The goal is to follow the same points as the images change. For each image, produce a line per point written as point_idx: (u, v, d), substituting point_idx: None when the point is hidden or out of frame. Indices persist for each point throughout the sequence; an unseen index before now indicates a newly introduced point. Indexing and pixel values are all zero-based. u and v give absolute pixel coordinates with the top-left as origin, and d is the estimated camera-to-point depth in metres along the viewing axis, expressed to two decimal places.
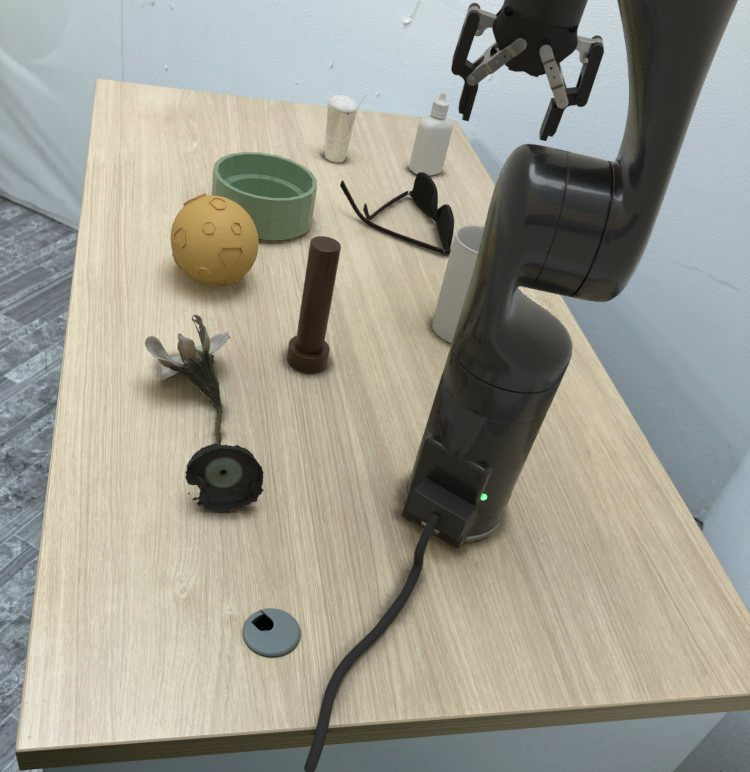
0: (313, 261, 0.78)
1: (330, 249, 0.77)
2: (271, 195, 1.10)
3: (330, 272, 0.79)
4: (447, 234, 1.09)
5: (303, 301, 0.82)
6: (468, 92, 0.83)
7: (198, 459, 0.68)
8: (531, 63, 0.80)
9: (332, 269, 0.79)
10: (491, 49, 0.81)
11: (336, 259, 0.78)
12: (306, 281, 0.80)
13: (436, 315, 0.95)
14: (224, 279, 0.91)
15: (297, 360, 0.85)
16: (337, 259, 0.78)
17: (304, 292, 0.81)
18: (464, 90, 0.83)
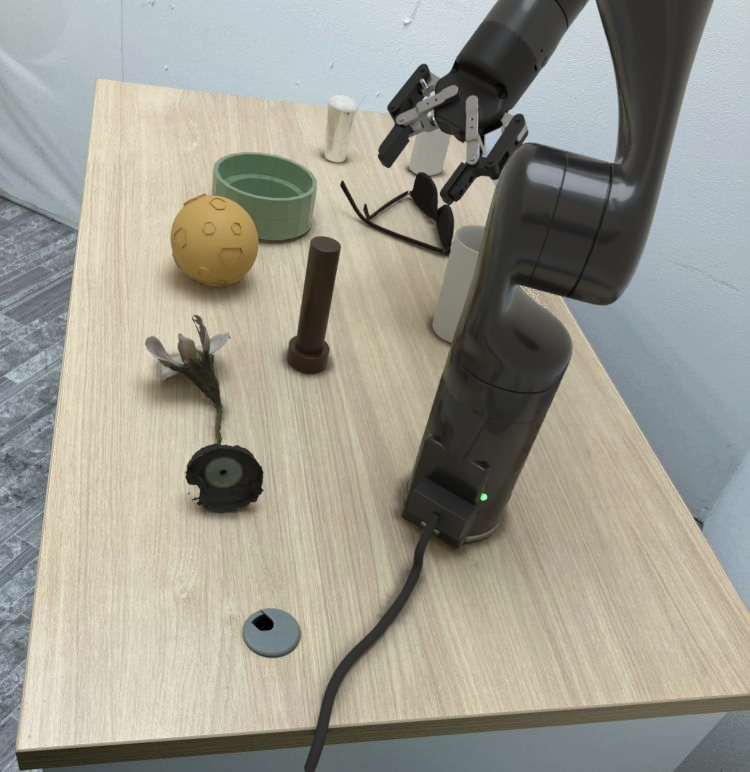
0: (313, 261, 0.78)
1: (330, 249, 0.77)
2: (271, 195, 1.10)
3: (330, 272, 0.79)
4: (447, 234, 1.09)
5: (303, 301, 0.82)
6: None
7: (198, 459, 0.68)
8: (457, 117, 0.81)
9: (332, 269, 0.79)
10: (430, 117, 0.84)
11: (336, 259, 0.78)
12: (306, 281, 0.80)
13: (436, 315, 0.95)
14: (224, 279, 0.91)
15: (297, 360, 0.85)
16: (337, 259, 0.78)
17: (304, 292, 0.81)
18: (391, 131, 0.83)
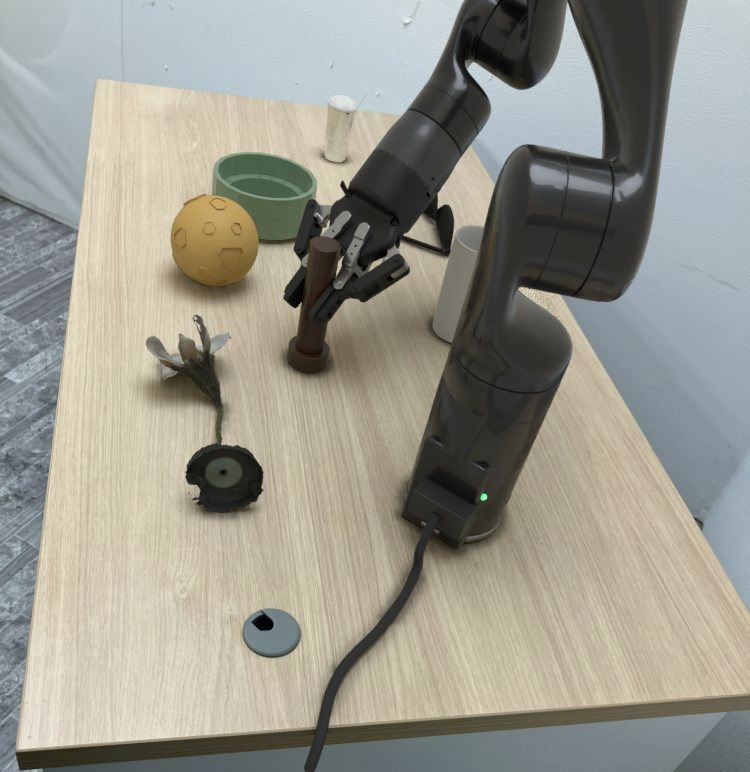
0: (313, 261, 0.78)
1: (330, 249, 0.77)
2: (271, 195, 1.10)
3: (330, 272, 0.79)
4: (447, 234, 1.09)
5: (303, 301, 0.82)
6: None
7: (198, 459, 0.68)
8: (350, 242, 0.80)
9: (332, 269, 0.79)
10: None
11: (336, 259, 0.78)
12: (306, 281, 0.80)
13: (436, 315, 0.95)
14: (224, 279, 0.91)
15: (297, 360, 0.85)
16: (337, 259, 0.78)
17: (304, 292, 0.81)
18: (297, 272, 0.82)
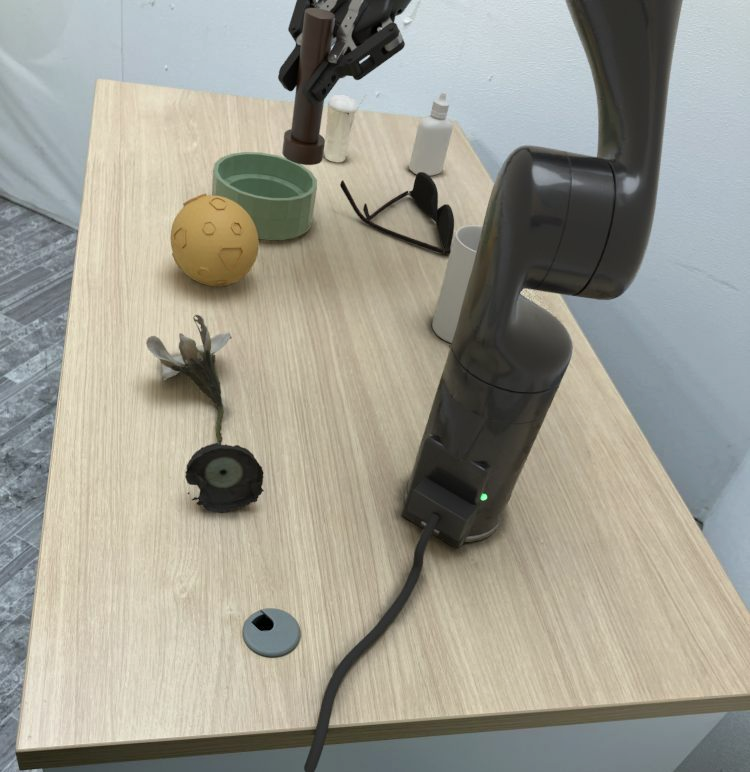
0: (307, 31, 0.78)
1: (324, 17, 0.77)
2: (271, 195, 1.10)
3: (325, 43, 0.79)
4: (447, 234, 1.09)
5: (298, 81, 0.82)
6: None
7: (198, 459, 0.68)
8: (344, 17, 0.80)
9: (327, 41, 0.79)
10: None
11: (331, 29, 0.78)
12: (301, 56, 0.80)
13: (436, 315, 0.95)
14: (224, 279, 0.91)
15: (292, 149, 0.85)
16: (332, 30, 0.78)
17: (299, 70, 0.81)
18: (292, 52, 0.82)
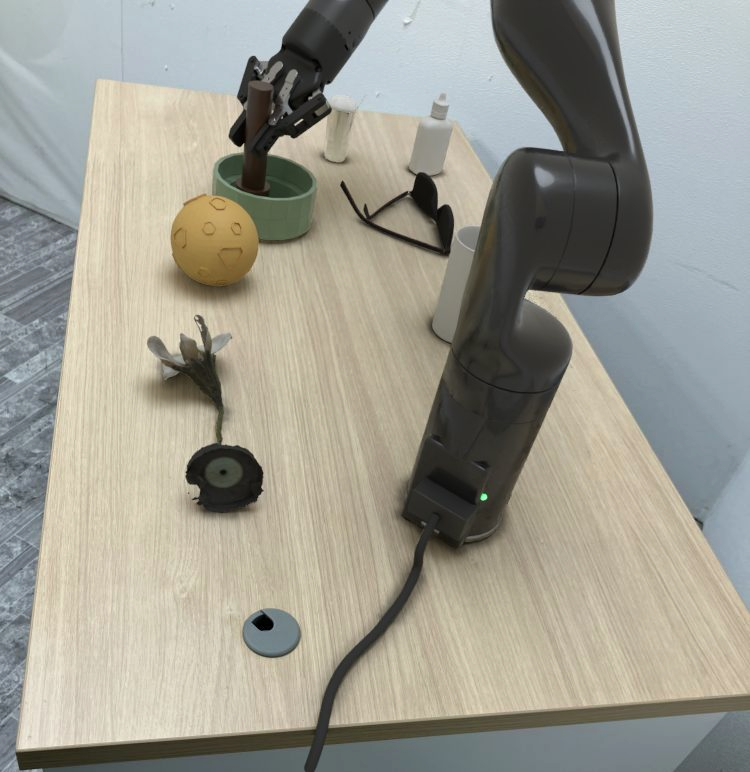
0: (251, 100, 0.95)
1: (264, 89, 0.94)
2: (271, 195, 1.10)
3: (265, 109, 0.96)
4: (447, 234, 1.09)
5: (245, 139, 0.99)
6: None
7: (198, 459, 0.68)
8: (282, 87, 0.97)
9: (267, 108, 0.96)
10: None
11: (270, 98, 0.95)
12: (246, 120, 0.97)
13: (436, 315, 0.95)
14: (224, 279, 0.91)
15: None
16: (271, 99, 0.95)
17: (245, 130, 0.98)
18: (240, 115, 0.99)
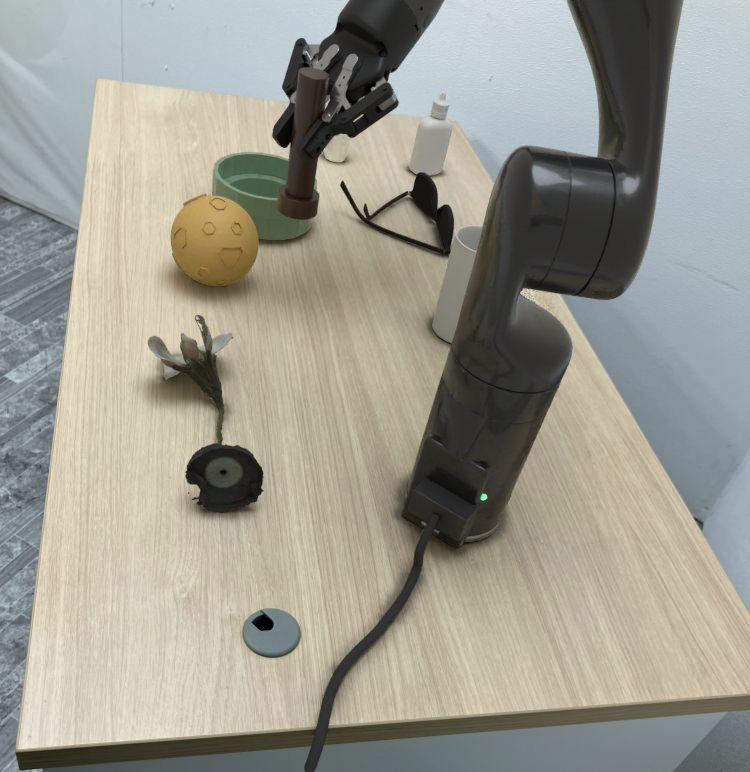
0: (301, 91, 0.78)
1: (318, 77, 0.77)
2: (271, 195, 1.10)
3: (319, 103, 0.79)
4: (447, 234, 1.09)
5: (292, 138, 0.82)
6: None
7: (198, 459, 0.68)
8: (338, 76, 0.80)
9: (321, 100, 0.79)
10: None
11: (324, 89, 0.78)
12: (295, 115, 0.80)
13: (436, 315, 0.95)
14: (224, 279, 0.91)
15: (287, 204, 0.85)
16: (326, 89, 0.78)
17: (293, 128, 0.81)
18: (286, 110, 0.82)
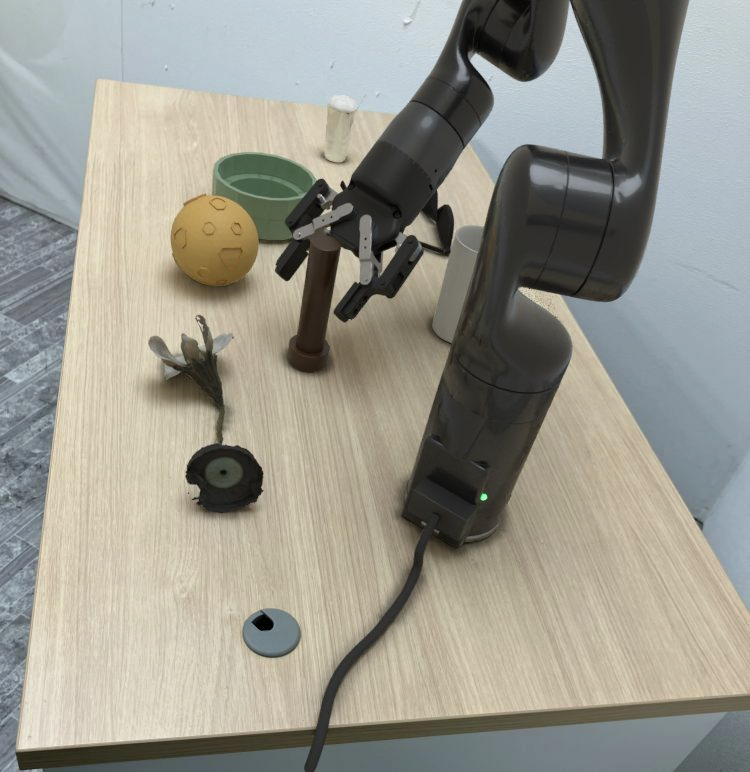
0: (313, 260, 0.78)
1: (330, 248, 0.77)
2: (271, 195, 1.10)
3: (330, 271, 0.79)
4: (447, 234, 1.09)
5: (303, 300, 0.82)
6: None
7: (198, 459, 0.68)
8: (352, 235, 0.79)
9: (333, 268, 0.79)
10: (329, 230, 0.83)
11: (336, 258, 0.78)
12: (306, 280, 0.80)
13: (436, 315, 0.95)
14: (224, 279, 0.91)
15: (297, 359, 0.86)
16: (337, 258, 0.79)
17: (304, 291, 0.81)
18: (288, 245, 0.82)
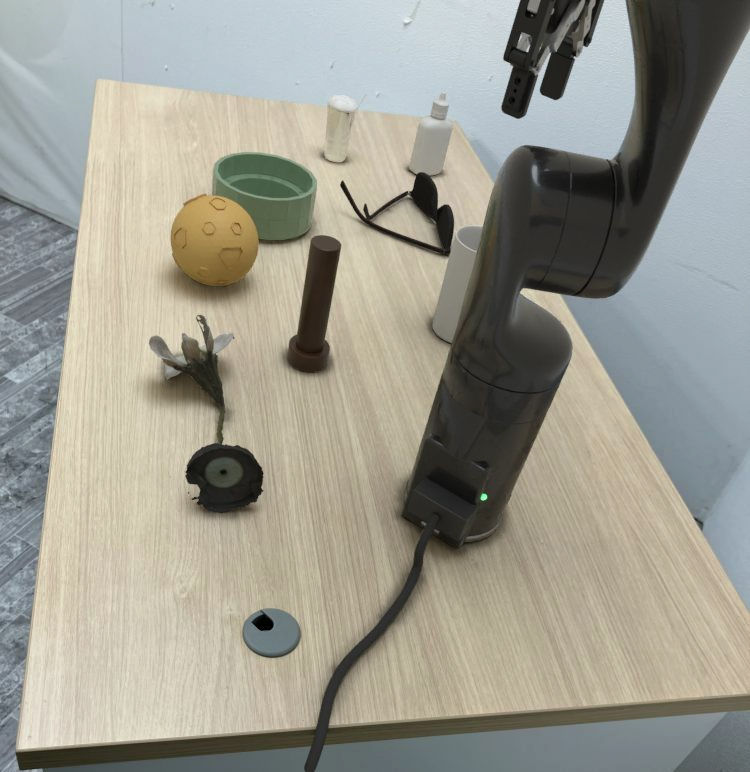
0: (313, 260, 0.78)
1: (330, 248, 0.77)
2: (271, 195, 1.10)
3: (330, 271, 0.79)
4: (447, 234, 1.09)
5: (303, 300, 0.82)
6: (527, 84, 0.69)
7: (198, 459, 0.68)
8: (572, 21, 0.69)
9: (333, 268, 0.79)
10: None
11: (336, 258, 0.78)
12: (306, 280, 0.80)
13: (436, 315, 0.95)
14: (224, 279, 0.91)
15: (297, 359, 0.86)
16: (337, 258, 0.79)
17: (304, 291, 0.81)
18: (525, 84, 0.69)
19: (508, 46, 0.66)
